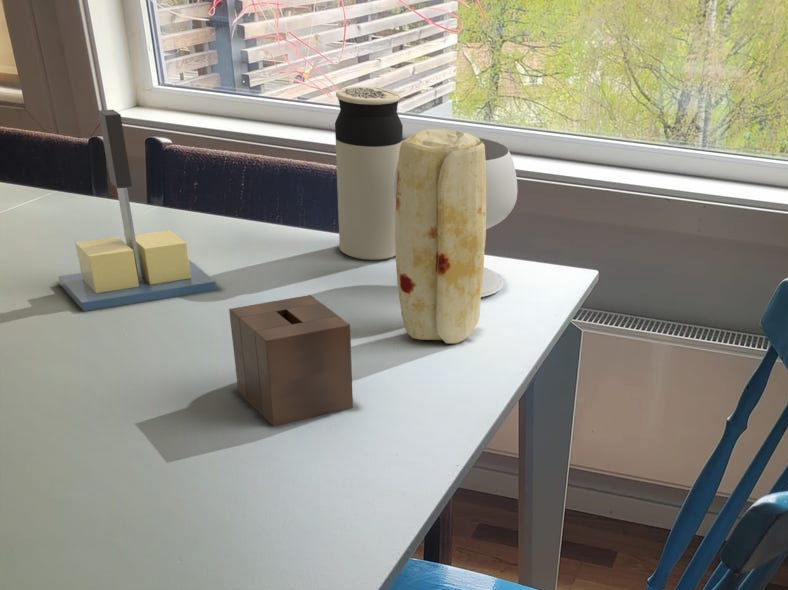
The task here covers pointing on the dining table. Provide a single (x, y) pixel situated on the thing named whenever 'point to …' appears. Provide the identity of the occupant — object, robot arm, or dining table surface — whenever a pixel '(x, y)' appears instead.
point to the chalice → (494, 198)
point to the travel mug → (367, 170)
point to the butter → (133, 271)
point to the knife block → (292, 359)
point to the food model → (440, 233)
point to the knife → (119, 173)
